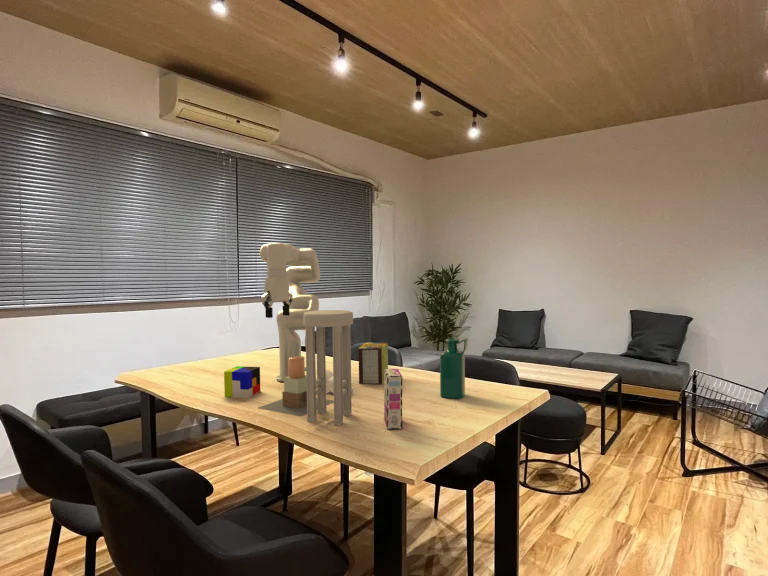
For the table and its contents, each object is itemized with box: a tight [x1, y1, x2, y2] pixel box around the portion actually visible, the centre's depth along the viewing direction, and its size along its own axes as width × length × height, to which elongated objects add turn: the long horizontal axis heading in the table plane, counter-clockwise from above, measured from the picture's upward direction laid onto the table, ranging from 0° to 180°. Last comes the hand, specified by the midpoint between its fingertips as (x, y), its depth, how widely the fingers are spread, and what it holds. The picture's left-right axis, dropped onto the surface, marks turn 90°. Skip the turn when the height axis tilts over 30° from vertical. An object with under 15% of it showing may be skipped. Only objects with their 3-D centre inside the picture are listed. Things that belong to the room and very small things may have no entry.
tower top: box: [283, 374, 307, 394], centre depth 165 cm, size 6×6×5 cm
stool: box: [304, 309, 354, 426], centre depth 150 cm, size 16×16×35 cm
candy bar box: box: [383, 368, 403, 430], centre depth 144 cm, size 11×5×16 cm, turn 5°
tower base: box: [281, 390, 307, 409], centre depth 166 cm, size 8×8×5 cm
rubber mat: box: [257, 397, 334, 417], centre depth 166 cm, size 20×20×1 cm
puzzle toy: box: [223, 365, 261, 399], centre depth 182 cm, size 10×10×10 cm
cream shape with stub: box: [326, 369, 355, 395], centre depth 182 cm, size 9×8×15 cm
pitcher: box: [439, 337, 469, 400], centre depth 175 cm, size 10×8×22 cm
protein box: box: [357, 342, 389, 385], centre depth 203 cm, size 10×15×16 cm
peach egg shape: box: [289, 355, 306, 379], centre depth 165 cm, size 6×6×7 cm
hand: (277, 316), depth 185 cm, fingers open, 9 cm apart
